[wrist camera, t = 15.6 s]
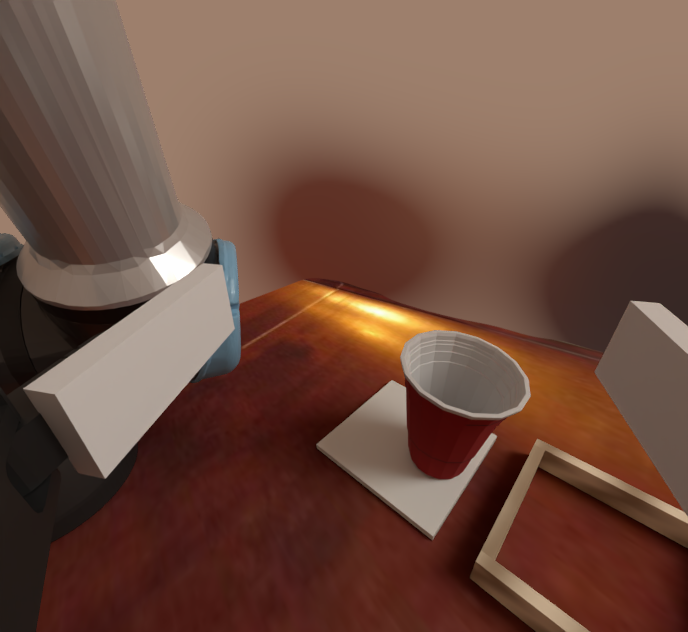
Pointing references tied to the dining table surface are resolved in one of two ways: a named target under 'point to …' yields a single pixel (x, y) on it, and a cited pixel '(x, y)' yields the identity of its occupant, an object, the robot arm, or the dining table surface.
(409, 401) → the plastic cup
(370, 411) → the white tile
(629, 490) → the birch collar
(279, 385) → the dining table surface
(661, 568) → the dining table surface
